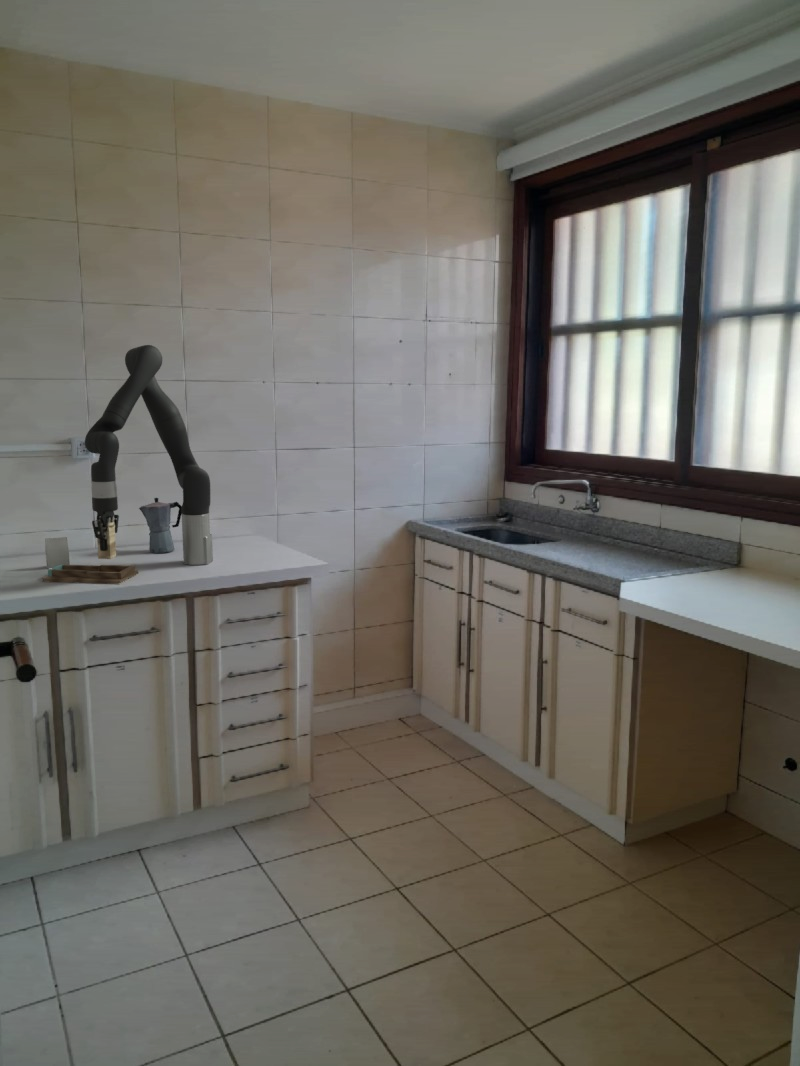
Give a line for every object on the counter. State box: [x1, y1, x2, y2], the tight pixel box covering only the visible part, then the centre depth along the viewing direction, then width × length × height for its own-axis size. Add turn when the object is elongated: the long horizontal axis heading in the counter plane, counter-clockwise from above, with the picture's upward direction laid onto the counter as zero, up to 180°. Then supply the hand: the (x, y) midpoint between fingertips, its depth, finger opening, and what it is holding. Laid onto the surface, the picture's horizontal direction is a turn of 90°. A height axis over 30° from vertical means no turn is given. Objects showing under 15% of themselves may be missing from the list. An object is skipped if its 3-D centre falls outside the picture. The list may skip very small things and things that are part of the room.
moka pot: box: [138, 497, 182, 554], centre depth 294 cm, size 10×15×20 cm, turn 115°
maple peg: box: [96, 522, 117, 560], centre depth 253 cm, size 5×5×11 cm
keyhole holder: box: [42, 564, 140, 584], centre depth 255 cm, size 25×14×3 cm, turn 85°
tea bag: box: [44, 536, 71, 570], centre depth 269 cm, size 4×7×10 cm, turn 120°
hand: (107, 548), depth 253 cm, fingers closed on maple peg, 4 cm apart
